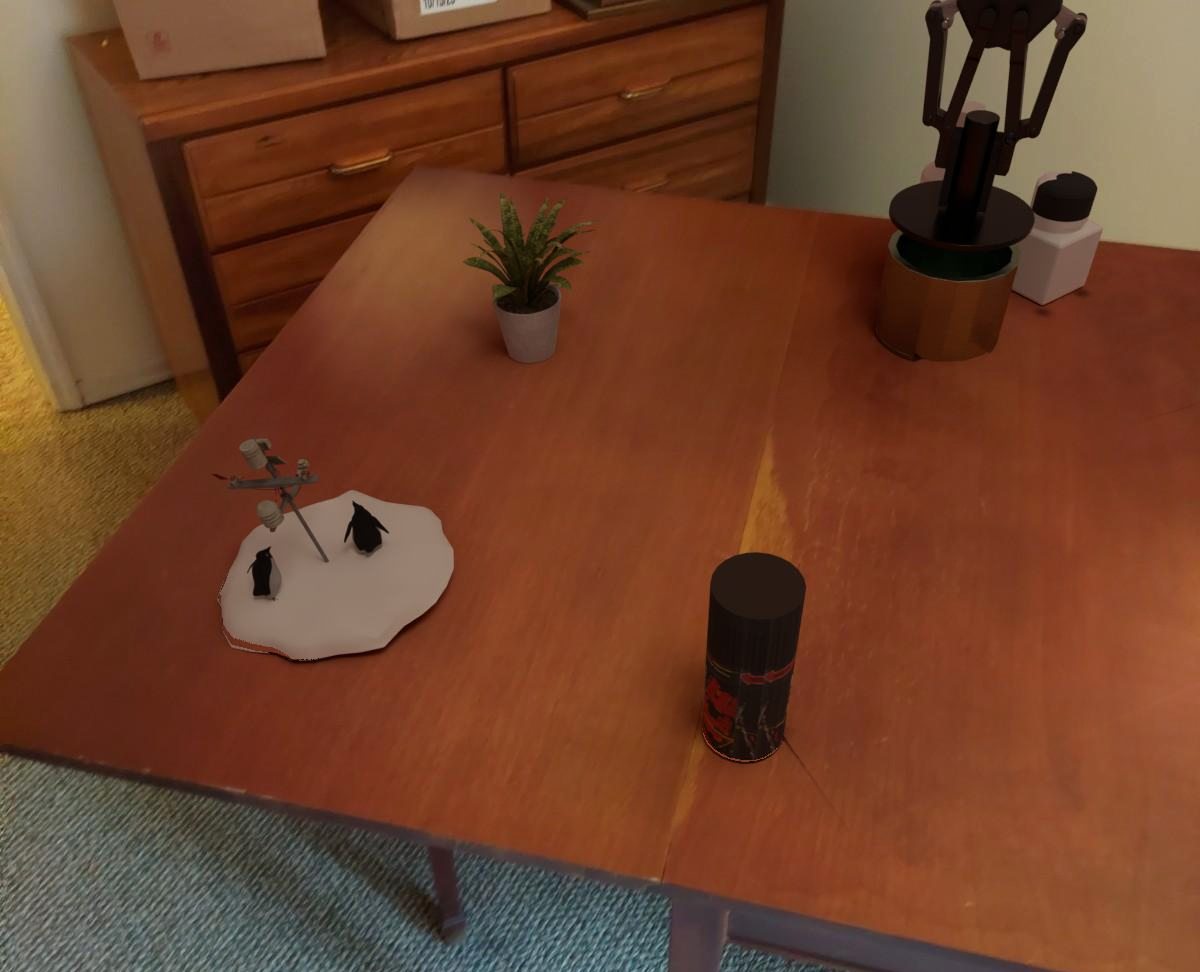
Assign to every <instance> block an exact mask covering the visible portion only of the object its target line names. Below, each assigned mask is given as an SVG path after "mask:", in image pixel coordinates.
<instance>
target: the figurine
mask: <svg viewBox="0 0 1200 972" xmlns="http://www.w3.org/2000/svg"><path fill="white" fill-rule="evenodd" d="M272 447H273V445H272V443H271V441H270V439H269V438H255V437H252V438H250V439H247V440H245V441H243V442H242V443H241V444H240V445H239V451H240V454H241V456H242V457H243V458H244V459H245V461H246V462H247V464H248V466H249V467H250V469H251V470H253V471H257V470H262V469H263V468H265V469H266V471H267V472H268V473H270V475H271V477H269V478H268V477H267V478H258V479H257V478H256V479H244V478H245V477H243V476H236V475H231V476H230V477H225V476H222V475H220V474H218V473H211V476H213V477H215V478H217V479H218V480H220V481H227V480H230V482H229V484H228V486H227V490H250V489H252V490H260V491H261V490H262V491H264V490H265V491H275V494H277V492H278V495H279V496H280V499H281V503H280V505H278V503H277V501H273V500H270V499H265V500H262V501H260V502H259V503H258V505H257V507H256V515H257V516H258V519H260V522H261V524H260V525H258V526H256V527H254V528H253V529H252V530H251V532H249V534H248V535H246V537H244V539H243V540H242V541H241V544H240V546H239V549H238V553H237V555H236V557H235V559H234V561H233V563H232V565H231V567H230V569H229V571H228V572H229V573H228V572H227V574H228V576H227V575H226V576H227V579H226V582H225V584H224V586H223V588H222V585H223V582H224V580H223V581H222V584H221V586H220V589H219V592H218V596H219V594H220V595H221V596H222V597H221V604H220V602H219V599H218V596H217V598H216V601H217V602H218V604H219V606H220V609H221V619H222V618H223V625H224V626H225V628H226V630H227V631H228V632H229V633H230V635H231V636H232V637H233V638H234V639H235V638H236V639H238V640H239V639H240V640H242V641H243V640H244V642H245V641H246V642H248V643H249V642H250V644H251V643H252V644H257V645H262V646H265V647H266V646H267V647H273V648H275V649H278V651H279V650H280V651H281V652H283V653H284V654H286V656H287V655H288V656H289V657H290V658H291V659H300V660H299V661H302V660H301V659H304V660H303V661H314V660H319V659H323V658H324V659H325V658H328V657H332V656H337V655H346V654H357V653H363V652H369V651H372V650H377V649H378V650H379V649H383V648H385V647H386V646H387V645H388V644H389V642H391V641H392V640H393V639H394V638H395V636H396V635H398V633H399V632H400V631H401V630H403V628H404V627H405V626H406V625H408V624H410V623H411V622H413V621H414V620H416V619H418V618H420V616H422V615H424V614H425V613H426V612H427V611H428V610H429V609H430V608H432V607H433V606H434V605H436V603H437V601H438V600H439V598H441V595H442V594H443V592H444V591H445V590H446V588H447V586H448V584H449V582H450V580H451V577H452V575H453V572H454V569H455V560H454V559H455V558H454V555H455V553H454V548H453V547H452V545H451V543H450V542H449V540H448V538H447V537H446V535H445V534H444V532H443V525H442V520H441V519H440V518H439V517H438V516H437V515H436V514H435V513H434V512H433V511H432V510H431V509H430V508H428V507H425V506H421V505H413V504H412V505H411V504H405V503H397V502H396V503H395V502H389V501H385V500H381V499H379V498H376V497H373V496H371V495H367V494H365V493H362V492H360V491H357V490H353V489H350V490H348V491H346V492H344V493H341V494H340V495H338V496H336V497H334V498H331V499H327V500H322V501H320V502H319V501H318V502H316V503H313V504H309V505H307V506H303V507H301V508H298V507H297V506H296V503H295V502H294V499H295V497H296V496H297V495H298V494H299V491H300V489H301V486H304V485H313V484H318V480H319V478H320V477H321V475H320V474H311V472H310V471H308V469H309V467H310V462H309V461H308V460H307V459H304V458H300V459H299V460H298V461H297V464H296V467H297V471H296V474H295V475H294V476H282V474H281V471H280V470H279V469H277V467H275V466H278V465H279V466H281V465H287V461H285V460H284V459H282V457H280V456H279V455H267V456H266V452H265V451H269V450H271V448H272ZM290 487H291V488H290ZM287 488H290V492H288V490H287ZM287 505H290V507H291V509H292V510H293V511H289V512H286V513H284V512H285V510H286V507H287ZM221 588H222V590H221ZM220 591H221V592H220ZM222 633H223V635H224V637H225V639H226V640H227V642H228V644H229V646H230V647H231V648H232V649H236V650H241V651H246V652H252V653H263V654H269V653H268V652H262V651H255V650H251V649H247V648H243V647H239V646H235V645H232V644H231V643H230V641H229V640H228V638H227V636H226V635H225V633H224V631H223V630H222ZM318 658H319V659H318ZM306 659H308V660H306ZM311 659H312V660H311ZM313 659H314V660H313Z"/></svg>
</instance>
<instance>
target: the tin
mask: <svg viewBox="0 0 1200 972" xmlns="http://www.w3.org/2000/svg"><path fill="white" fill-rule="evenodd" d="M885 254H886V255H885V259H884V264H883V265H884V266H883V270H882V271H883V272H882V277H881V283H880V289H879V294H878V299H877V306H876V310H875V311H876V312H875V317H874V321H873V323H874V332H875V336H876V337H877V339H878V341H879V342H880V343H881V344H882V345H883V346H884V347H885V348H886V349H887V350H889V351H890V352H892V354H895V355H897V356H899V357H901V358H903V359H906V360H908V361H912V362H919V361H921V360H926V361H932V362H937V363H939V362H941V363H943V362H944V363H945V362H964V361H968V360H970V359H974V358H977V357H981V356H984V355H986V354H990V353H991V352H992V351H993V350H994V349H995V347H996V346H997V343H998V341H999V337H1000V333H1001V330H1002V325H1003V322H1004V318H1005V314H1006V312H1007V308H1008V305H1009V301H1010V297H1011V293H1012V291H1013V290H1012V286H1013V283H1014V279H1015V275H1016V272H1017V268H1018V264H1019V260H1020V255H1021V252H1020V250H1019V248H1018V247H1017V245H1016V244H1014V245H1012V246H1009V247H1005V248H1001V249H996V250H989V251H957V250H949V249H944V248H939V247H935V246H931V245H928V244H925V243H922V242H919V241H917V240H914V239H912V238H911V237H909V236H907V235H905V234H904V233H902V232H901V231H900V230H899V229H897V230H896V231H895V232H893V233H892V234H891V237H890V239H889V242H888V244H887V250H886V253H885Z"/></svg>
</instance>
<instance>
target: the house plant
mask: <svg viewBox="0 0 1200 972" xmlns="http://www.w3.org/2000/svg"><path fill="white" fill-rule="evenodd" d="M549 197H550V195H548V196H547V197H546V198H545V200H544V202H543V203H542V204H541V207H540V209H539V211H538V213H537V215H536V217H535V218H534V221H533V222H532V224H531V226H530V228H529V231H528V234H527V237H526V241H525V238H524V236H525V235H526V233H523V232H524V231H523V227H522V224H521V221H520V219H519V216H518V214H517V209H516V205H515V203H514V202H513V199H512V196H510V197H509V200H508V197H507V196H506V195H505V194H504V193H503V192H502V190H501V191H500V193H499V207H500V209H499V210H500V217H501V224H502V230H498V229H488V228H487V226H485V225H484V224H482V223H481V222H480V221H478V220H475V219H473V218H471V217H468V219H469V221H470V222H471V223H472V224H473V225H474V226H475V227H476V228H478V230H479V231H480V233H481V235H482V236H483V237H484V238H482V237H479V239H480V240H481V241H484V243H485V244H486V245H488V246H489V247H490V248H491V249H492V250H486V249H485V248H483V247H482V246H481V245H479V244H477V243H473V242H471V243H470V245H472V246H474V247H475V248H478V249H480V250H481V251H482V252H481V253H480V254H479V255H478V256H472V257H468V258H466V259H464V260H463V261H462V262H461V264H465V265H466V266H470V267H473V268H476V269H480V270H483V271H486V272H487V273H491V274H492V275H493V276H495V277H496V278H498V280H500V282H501V283H496V284H493V285H492V286H491V289H492V299H491V301H492V307H493V309H494V312H495V315H496V318H497V321H498V325H499V327H500V331H501V334H502V338H503V340H504V344H505V347H506V351H507V354H508V357H509V358H510V359H512V360H514V361H515V362H518V363H521V364H537V363H541V362H544V361H547V360H549V359H550V358H551V357H553V355H554V354H555V353H556V350H557V343H558V342H557V341H558V334H559V333H558V332H559V324H560V315H561V305H562V292H561V290H560V289H559V288H561V289H563V290H564V288H565V289H566V290H567V291H569V292H570V293H571V295H572V296H574V293H573V288H572V284H571V282H570V281H569V280H568V279H567V278H566V277H564V276H562V275H557V274H558V273H561V272H563V271H565V270H568V269H570V268H572V267H575V266H578V265H580V264H581V265H586V263H585V262H584V261H582V260H580V259H579V258H577V257H578V256H582V255H584V254H588V253H590V252H592V251H590V250H588V251H586V250H585V251H582V250H581V251H577V250H575V249H572V248H569V247H565V246H564V245H563V244H564V243H566V242H567V241H568V240H569V239H571V238H573V237H574V236H577V235H581V234H582V235H583V234H585V233H590V232H594V231H595V229H589V230H588V229H587V230H578V229H580V228H583V227H585V226H589V225H592V224H595V223H597V222H598V220H591V221H585V222H581V223H578V224H575V225H573V226H571V227H569V228H567V229H566V230H564V231H562V232H561V233H559V234H558V235H557V236H555V237H553V238H550V239H549V236H551V235H550V234H551V233H552V231H553V229H554V227H555V226H556V223H557V218H558V214H559V212H560V210H561V209H562V207H563V206H564V204H565V202H566V200H567V199H568V197H566V198H563V199H561V200H560V201H558V202H557V203H556V204H554V205H553V207H552V208H551V209H550V210H549V211H548V212H547V208H548V205H549ZM546 212H547V213H546ZM493 231H494V232H499V233H500V234H501V235H503V236H502V237H503V244H504V246H505V247H503V246H502V245H501V243H500V242H499V240H498V238H497V237H496V236H495V235H494V234H493ZM552 248H553V249H552ZM551 250H552V251H551ZM550 251H551V252H550ZM490 252H491V253H493V254H494V255H495V256H497V257H498V259H499V260H500V262H499V260H497V259H496V257H494V255H492V254H491V253H490ZM549 252H550V253H549ZM548 253H549V254H548ZM547 254H548V255H547ZM569 254H570V255H569ZM484 255H486V256H488V257H489V258H491V259H492V260H493V261H494V262H495V263H496V264H497V265H498V266H499V268H500V269H499V268H498V267H497V266H496V265H495V264H493V263H491V262H490V261H488V260H486V259H484V258H481V257H482V256H484ZM546 255H547V256H546ZM564 255H568V256H567V257H566V258H564V259H561V260H559V261H558V262H556V263H555V264H553V265H552V266H551V267H550V268H549V269H548V270H547V271H545V270H546V269H547V267H548V266H549V265H550V264H551V263H552V262H553V261H554V260H555V259H557V258H559V257H561V256H564ZM545 256H546V257H545ZM544 272H545V273H544ZM542 275H543V276H542ZM551 282H552V283H551ZM502 283H503V284H502Z"/></svg>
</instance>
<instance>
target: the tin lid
mask: <svg viewBox="0 0 1200 972" xmlns="http://www.w3.org/2000/svg"><path fill="white" fill-rule="evenodd" d="M1000 121H1001V116H1000V115H999V114H998V113H996V112H994V111H991V110H975V111H971V112H968V113H967V114H966V118H965V122H964V127H963V131H962V137H961V141H960V146H959V151H958V155H957V160H956V164H955V169H954V174H953V178H952V183H951V188H950V192H949V197H948V201H947V205H946V207H940V206H938V202H939V198H940V193H941V188H942V183H943V180H938V181H929V182H924V183H920V182H919V183H916V184H912V185H910V186H907V187H905V188H903V189H902V190H900V191H898V192H897V193H896V194H895V195H894V196H893V197H892V199H891V201H890V203H889V207H888V217H889V220H890V221H891V223H892V224H893V226H894V227H895V228H896V229H897V230H900V231H901V232H902V233H904V234H905V235H907V236H909V237H911V238H912V239H914V240H917V241H919V242H922V243H925V244H928V245H931V246H935V247H939V248H944V249H949V250H957V251H989V250H996V249H1001V248H1005V247H1009V246H1012V245H1014V244H1016V243H1019V242H1020V241H1022V240H1023V239H1025V238H1026V237H1027V236H1028V235H1029V234H1030V232H1031V231H1032V229H1033V226H1034V222H1035V217H1034V213H1033V211H1032V209H1031V208H1030V204H1029V203H1027V202H1026V201H1025V200H1023V199H1022V198H1021V197H1020V196H1018V195H1016V194H1014V193H1013V192H1011V191H1008V190H1006V189H1003V188H1000V187H998V186H995V185H993V186H992V190H991V194H990V198H989V202H988V205H987V209H986V212H985V213H983V212H977V211H978V207H979V202H980V198H981V194H982V190H983V185H984V181H985V177H986V173H987V169H988V164H989V160H990V156H991V152H992V148H993V143H994V140H995V138H996V134H997V131H998V129H999V125H1000Z"/></svg>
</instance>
